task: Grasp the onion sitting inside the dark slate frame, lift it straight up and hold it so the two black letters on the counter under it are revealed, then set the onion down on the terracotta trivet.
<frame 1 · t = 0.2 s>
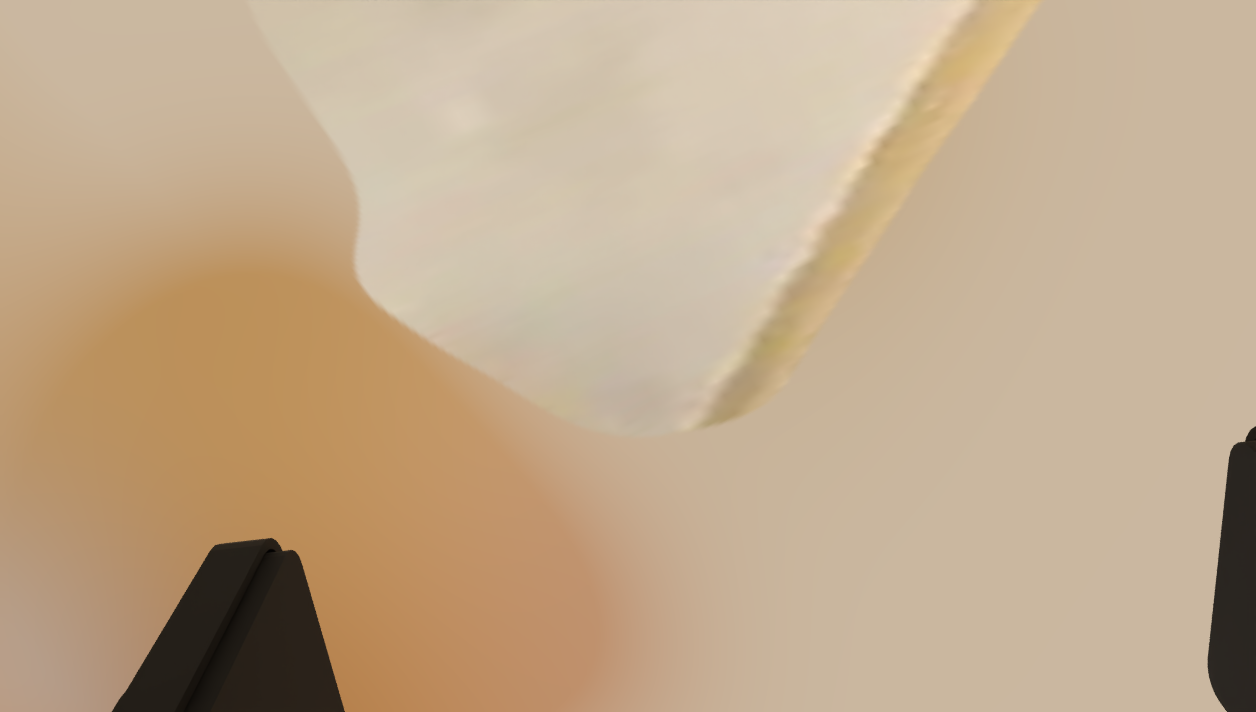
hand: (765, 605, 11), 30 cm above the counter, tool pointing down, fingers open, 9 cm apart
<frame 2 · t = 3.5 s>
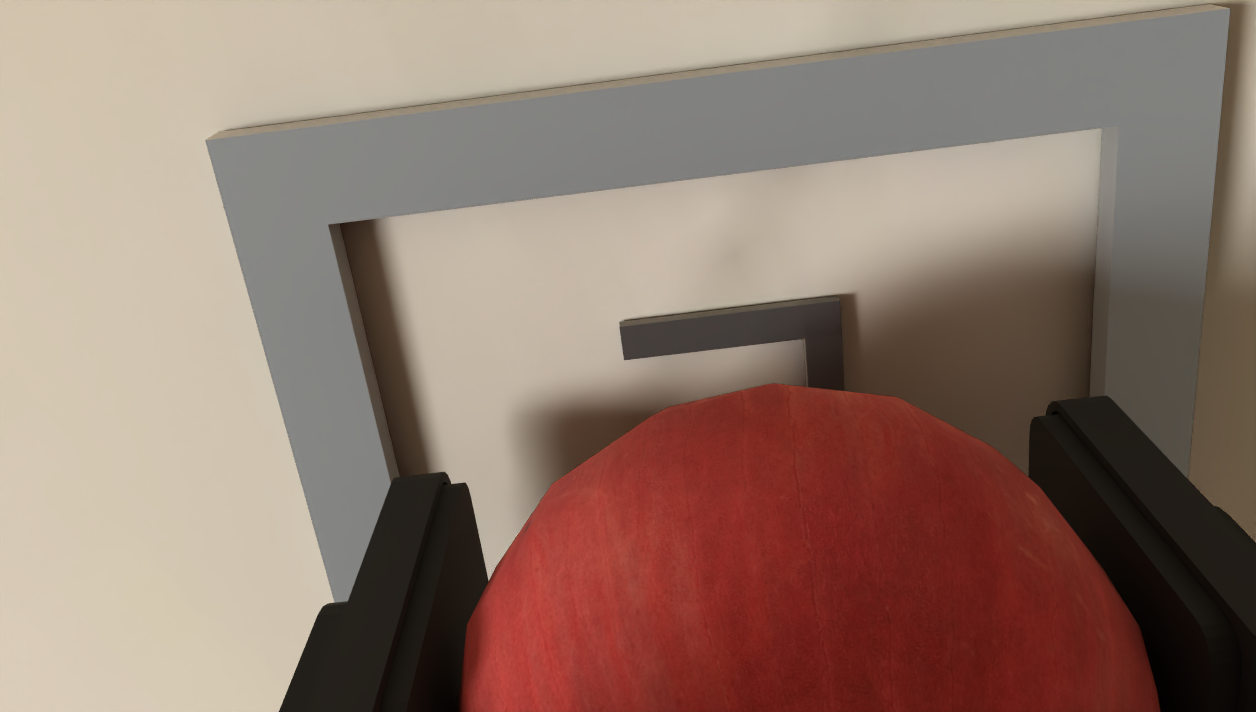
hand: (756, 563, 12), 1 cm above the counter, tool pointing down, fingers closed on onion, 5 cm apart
onion: (745, 494, 13), on the counter, touching code frame, gripper
code frame: (745, 496, 13), on the counter
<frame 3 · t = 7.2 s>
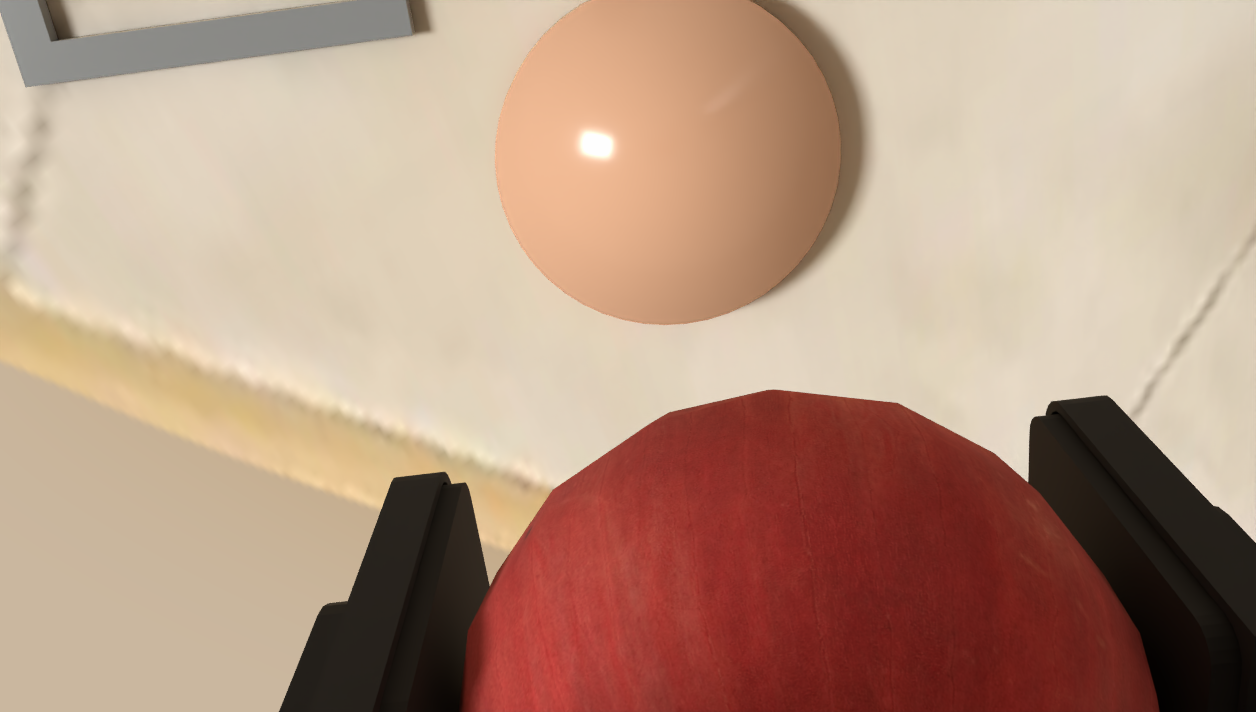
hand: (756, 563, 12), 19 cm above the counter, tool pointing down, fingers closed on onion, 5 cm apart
trivet: (666, 157, 29), on the counter
onion: (745, 498, 13), point 18 cm above the counter, touching gripper
when the fingers open (4 cm above the counter, at t = 10.9 s): onion drops 2 cm, resting on trivet.
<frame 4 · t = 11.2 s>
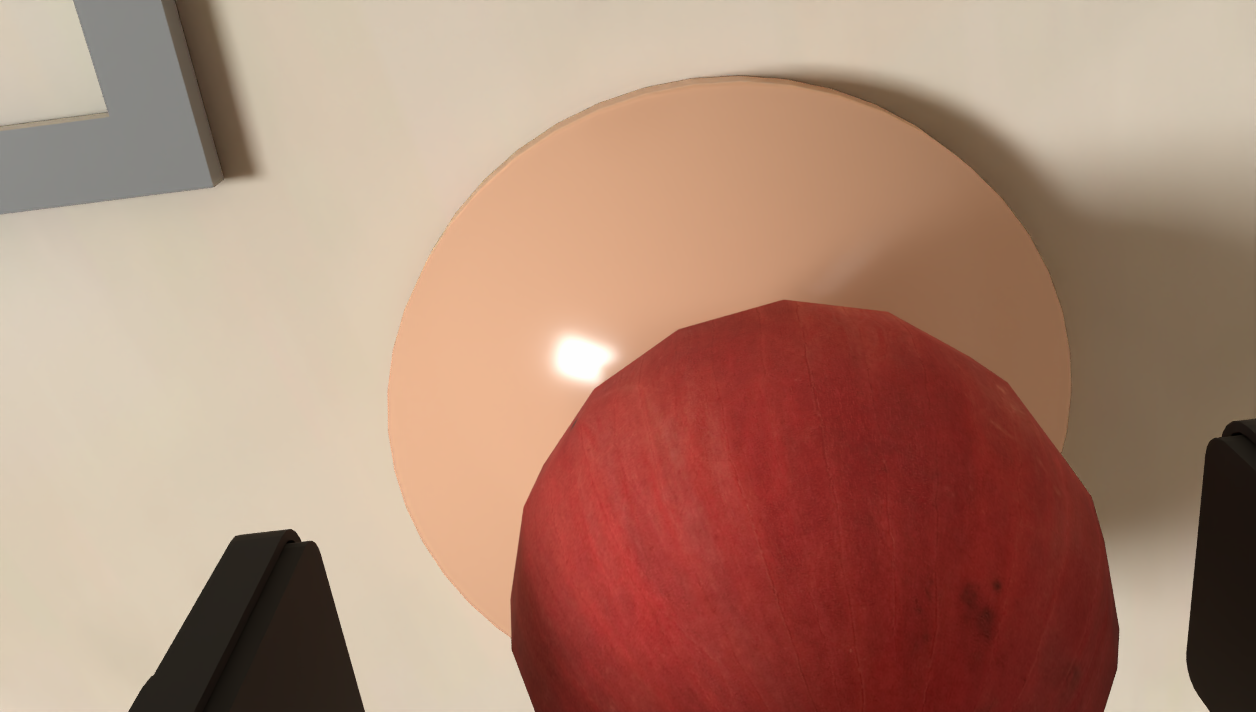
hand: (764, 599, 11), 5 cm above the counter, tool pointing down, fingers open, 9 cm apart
trivet: (723, 405, 15), on the counter
onion: (750, 420, 15), point 1 cm above the counter, touching trivet
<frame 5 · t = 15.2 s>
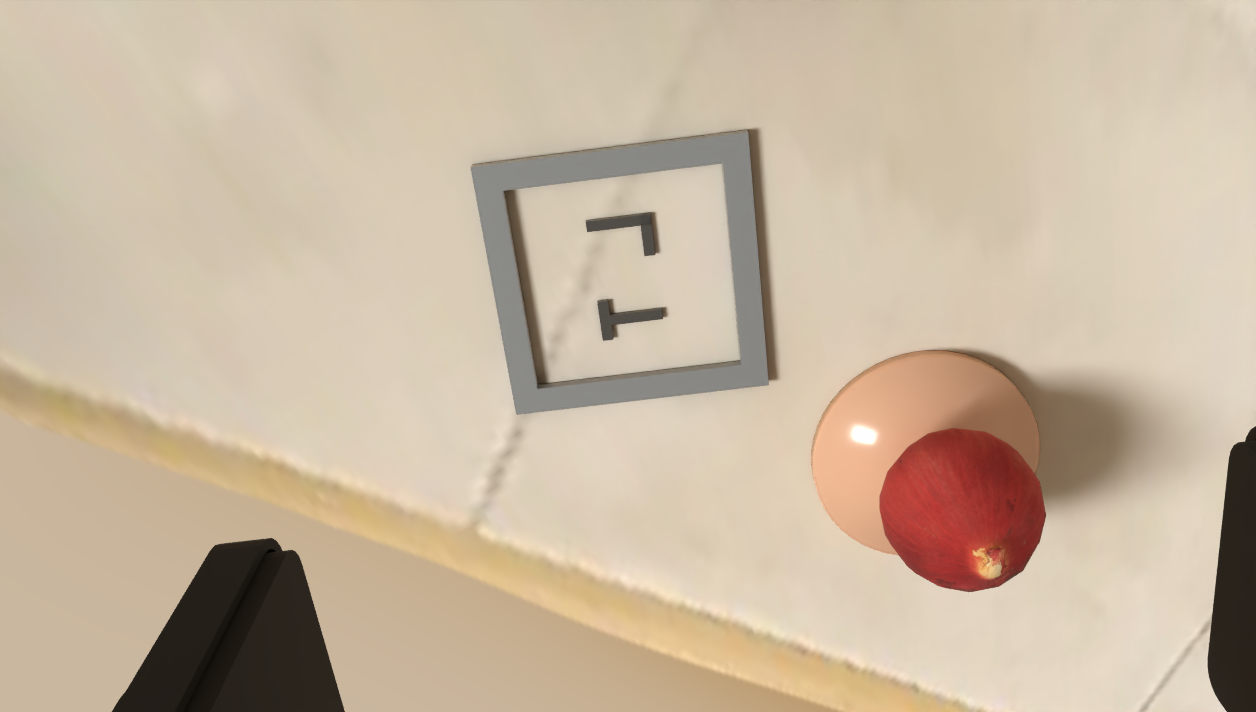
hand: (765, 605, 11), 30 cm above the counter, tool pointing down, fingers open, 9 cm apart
trivet: (921, 451, 45), on the counter
onion: (933, 457, 44), point 1 cm above the counter, touching trivet
code frame: (626, 277, 42), on the counter
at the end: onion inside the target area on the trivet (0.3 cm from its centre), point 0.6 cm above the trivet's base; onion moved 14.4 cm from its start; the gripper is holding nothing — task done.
